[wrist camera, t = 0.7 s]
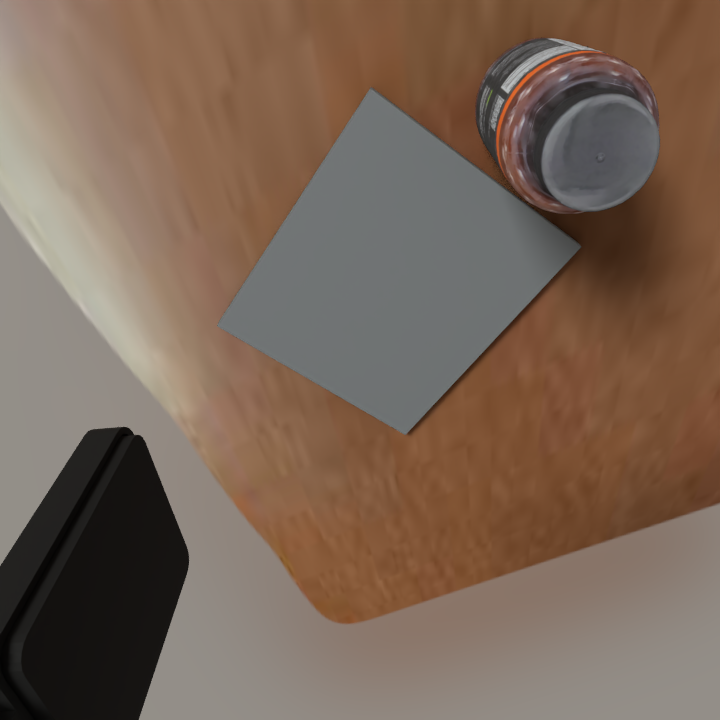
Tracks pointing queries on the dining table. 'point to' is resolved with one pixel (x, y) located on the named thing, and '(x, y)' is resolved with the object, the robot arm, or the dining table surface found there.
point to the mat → (394, 268)
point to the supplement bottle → (568, 125)
